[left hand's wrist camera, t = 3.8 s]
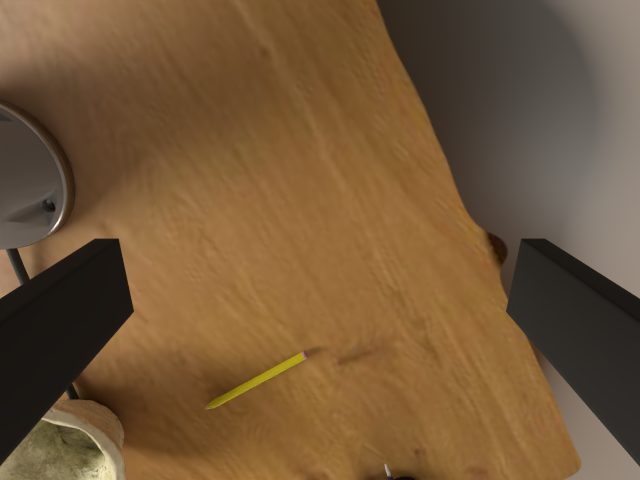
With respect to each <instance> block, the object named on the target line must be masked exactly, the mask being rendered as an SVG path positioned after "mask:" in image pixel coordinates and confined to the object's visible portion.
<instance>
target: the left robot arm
mask: <svg viewBox="0 0 640 480" xmlns="http://www.w3.org/2000/svg"><path fill="white" fill-rule="evenodd" d="M74 197H75V186H74V178H73V174H72V170H71V167H70V164H69V162H68V160H67V158H66V155H65V154H64V152H63V150H62V148H61V147H60V145H59V144H58V142H57V141H56V140H55V138H54V137H53V136H52V135H51V134H50V132H49V131H48V130H47V129H46V128H45V127H44V126H43V125H42V124H40V123H39V122H38V121H37V120H36V119H34V118H33V117H32V116H30V115H29V114H27V113H26V112H24V111H23V110H21V109H19V108H17V107H15V106H13V105H11V104H9V103H6V102H3V101H1V100H0V250H2V249H6V251H7V254H8V256H9V258H10V261H11V263H12V266H13V268H14V270H15V273H16V275H17V277H18V279H19V282H20V284H21V286H20V287H18V288H16V289H15V290H13V291H12V292H10V293H9V294H7V295H5V296H4V297H2V298H1V299H0V466H1V465H2V464H3V463H4V462H5V460H6V459H7V458H8V457H9V456H10V455H11V453H12V452H13V451H14V450H15V449H16V448H17V447H18V445H19V444H20V443H21V442H22V441H23V440H24V438H25V437H26V436H27V435H28V434H29V433H30V431H31V430H32V429H33V428H34V427H35V426H36V425H37V423H38V422H39V421H40V420H41V419H42V418H43V416H44V415H45V414H46V413H47V412H48V411H49V409H50V408H51V407H52V406H53V405H54V404H55V403H56V401H57V400H58V399H59V398H60V397H61V396H62V394H63V393H64V392H65V391H66V392H67V395H68V397H69V399H70V400H72V399H74V400H75V399H76V400H78V399H79V397H78V395H77V393H76V391H75V388H74V386H73V384H72V383H73V382H74V381H75V379H76V378H77V377H78V376H79V375H80V374H81V372H82V371H83V370H84V369H85V368H86V367H87V365H88V364H89V363H90V362H91V361H92V360H93V359H94V357H95V356H96V355H97V354H98V353H99V352H100V350H101V349H102V348H103V347H104V346H105V345H106V343H107V342H108V341H109V340H110V339H111V338H112V337H113V335H114V334H115V333H116V332H117V331H118V330H119V328H120V327H121V326H122V325H123V324H124V323H125V321H126V320H127V319H128V318H129V317H130V316H131V314H132V313H133V312H134V309H133V305H132V300H131V295H130V290H129V286H128V281H127V276H126V271H125V267H124V262H123V257H122V252H121V248H120V243H119V239H94V240H92V241H91V242H89V243H87V244H86V245H84V246H83V247H81V248H80V249H78V250H76V251H75V252H73V253H72V254H70V255H69V256H67V257H65V258H64V259H62V260H61V261H59V262H58V263H56V264H54V265H53V266H51V267H50V268H48V269H46V270H45V271H43V272H42V273H40V274H39V275H37V276H35V277H34V278H32V279H31V280H30V279H29V276H28V274H27V272H26V270H25V267H24V265H23V262H22V260H21V257H20V255H19V252H18V250H17V248H20V247H25V246H29V245H32V244H34V243H36V242H38V241H40V240H42V239H44V238H46V237H48V236H50V235H51V234H53V233H55V232H56V231H57V230H58V229H59V228H60V227H61V226H62V225H63V224H64V223H65V222H66V220H67V219H68V217H69V215H70V213H71V210H72V207H73V204H74ZM506 312H507V313H508V314H509V316H510V317H511V318H512V319H513V320H514V321H515V323H516V324H517V325H518V326H519V327H520V328H521V330H522V331H523V332H524V333H525V334H526V335H527V337H528V338H529V339H530V340H531V341H532V342H533V343H534V345H535V346H536V347H537V348H538V349H539V350H540V352H541V353H542V354H543V355H544V356H545V357H546V359H547V360H548V361H549V362H550V363H551V364H552V365H553V367H554V368H555V369H556V370H557V371H558V372H559V374H560V375H561V376H562V377H563V378H564V379H565V381H566V382H567V383H568V384H569V385H570V386H571V387H572V389H573V390H574V391H575V392H576V393H577V394H578V396H579V397H580V398H581V399H582V400H583V401H584V402H585V404H586V405H587V406H588V407H589V408H590V409H591V411H592V412H593V413H594V414H595V415H596V416H597V418H598V419H599V420H600V421H601V422H602V423H603V425H604V426H605V427H606V428H607V429H608V430H609V431H610V433H611V434H612V435H613V436H614V437H615V438H616V440H617V441H618V442H619V443H620V444H621V445H622V446H623V448H624V449H625V450H626V451H627V452H628V453H629V455H630V456H631V457H632V458H633V459H634V460H635V462H636V463H637V464H638V465H639V466H640V299H639V298H638V297H636V296H635V295H633V294H631V293H630V292H628V291H627V290H625V289H623V288H622V287H620V286H619V285H617V284H616V283H614V282H612V281H611V280H609V279H608V278H606V277H605V276H603V275H601V274H600V273H598V272H597V271H595V270H593V269H592V268H590V267H589V266H587V265H586V264H584V263H582V262H581V261H579V260H578V259H576V258H575V257H573V256H571V255H570V254H568V253H567V252H565V251H563V250H562V249H560V248H559V247H557V246H556V245H554V244H553V243H551V242H549V241H548V240H546V239H521V243H520V248H519V252H518V257H517V262H516V267H515V271H514V276H513V281H512V286H511V291H510V295H509V300H508V305H507V309H506Z"/></svg>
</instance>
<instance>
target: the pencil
mask: <svg viewBox="0 0 640 480" xmlns="http://www.w3.org/2000/svg"><path fill="white" fill-rule="evenodd" d="M307 358H308V355H307V353H306V352H305V351H303V352H301V353H299V354H297V355H295V356H294V357H292V358H290V359H288V360H286V361H284V362H283V363H281V364H279V365H277V366H275V367H273V368H271V369H270V370H268V371H266V372H264V373H262V374H260V375H258V376H257V377H255V378H253V379H251V380H249V381H247V382H246V383H244V384H242V385H240V386H238V387H236V388H234V389H233V390H231V391H229V392H227V393H225V394H223V395H221V396H220V397H218V398H216V399H214V400H212V401H211V402H210V403H209V404H208V405H207V406H206V407H205V408H204V409H213V408H215V407H217V406H219V405H221V404H223V403H224V402H226V401H228V400H230V399H232V398H234V397H236V396H238V395H239V394H241V393H243V392H245V391H247V390H249V389H251V388H253V387H254V386H256V385H258V384H260V383H262V382H264V381H266V380H268V379H269V378H271V377H273V376H275V375H277V374H279V373H281V372H282V371H284V370H286V369H288V368H290V367H292V366H294V365H296V364H297V363H299V362H301V361H303V360H305V359H307Z"/></svg>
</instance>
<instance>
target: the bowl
mask: <svg viewBox="0 0 640 480" xmlns="http://www.w3.org/2000/svg"><path fill="white" fill-rule="evenodd" d="M123 442H124V430H123V428H122V425H121V423H120V421H119V420H118V417H117V416H116V415H115V414H113V413H112V411H110V409H109V408H107V407H105V406H103V405H100V404H98V403H96V402H95V401H91V400H80V399H78V400H76V399H75V400H74V399H72V400H70V399H68V400H61V401H57V402H56V403H55V404H54V405H53V406H52V407H51V408H50V409H49V411H48V412H47V413H46V414H45V415H44V416H43V418H42V419H41V420H40V421H39V422H38V423H37V425H36V426H35V427H34V428H33V429H32V430H31V431H30V433H29V434H28V435H27V436H26V437H25V438H24V440H23V441H22V442H21V443H20V444H19V445H18V447H17V448H16V449H15V450H14V451H13V452H12V453H11V455H10V456H9V457H8V458H7V459H6V460H5V462H4V463H3V464H2V465H1V466H0V480H125V474H126V471H125V461H124V456H123V454H122V452H121V448H122V444H123Z"/></svg>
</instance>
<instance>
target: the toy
mask: <svg viewBox="0 0 640 480" xmlns="http://www.w3.org/2000/svg"><path fill="white" fill-rule="evenodd" d="M385 469H386V473H387V477H388V480H393V477H392V475H391V473H390V471H389V468H388V466H387V465H386V464H385ZM394 480H415V479H413V478H411V477H399V478H396V479H394Z"/></svg>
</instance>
